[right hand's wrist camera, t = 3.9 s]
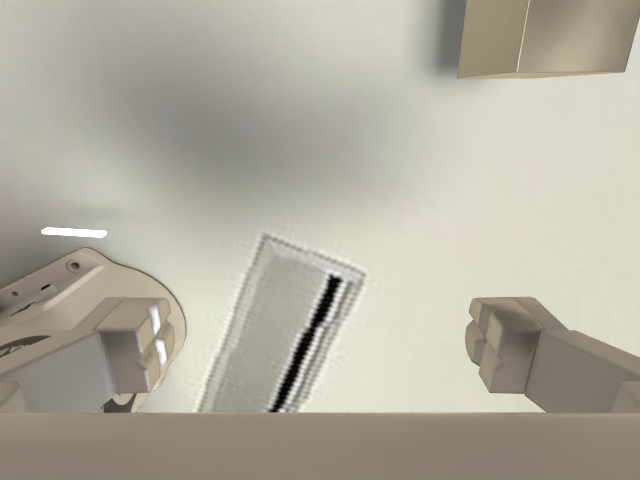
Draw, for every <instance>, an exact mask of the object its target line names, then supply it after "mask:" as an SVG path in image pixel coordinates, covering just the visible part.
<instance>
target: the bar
mask: <svg viewBox="0 0 640 480" xmlns="http://www.w3.org/2000/svg"><path fill="white" fill-rule="evenodd" d="M639 17H640V0H467V1H466V10H465V18H464V26H463V34H462V42H461V51H460V59H459V67H458V75H457V78H545V77H561V76H576V75H591V74H607V73H622V72H625V69H626V65H627V62H628V58H629V54H630V50H631V47H632V43H633V39H634V36H635V32H636V28H637V25H638V21H639Z"/></svg>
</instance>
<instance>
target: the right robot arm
mask: <svg viewBox="0 0 640 480" xmlns="http://www.w3.org/2000/svg"><path fill="white" fill-rule="evenodd" d="M42 234H56V235H73V236H90V237H103V236H105V235H106V231H95V230H78V229H61V228H46V229H44V230H42ZM75 262H76V263H78V265H79V266H77V265H76V264H75ZM469 313H470V315H471V316H472V318H473V320H472V321H471V322H470V323H469V325H468V326H467V327H466V334H465V342H466V349H467V352H468V355H469V357H470V359H471V361H472V362H473V363H475V364H476V365H478V366H479V367H480V369H479V375H480V377H481V379H482V380H483V382H484V384H485V386H486V387H487V389H488V391H489V393H513V394H525V396H526V397H527V398H529V399H530V400H531V401H533V402H534V403H535V404H537V405H538V406H539V407H540V408H542V409H543V410H544V411H546V412H547V413H135V412H136V410H137V409H138V408H139V406H140V405H141V404H142V402H143V401H144V399H145V398H146V397H147V395H148V394H149V393H151V391H155V390H157V389H158V388H159V386H160V385H161V384H162V382H163V380H164V377H165V374H166V369H167V367H168V365H169V364H170V363H171V362H172V361H173V360H174V358H175V357H176V356H177V355H178V354H179V352H180V350H181V348H182V346H183V344H184V340H185V334H186V326H185V320H184V316H183V313H182V311H181V309H180V307H179V305H178V303H177V302H176V300H175V299H174V297H173V296H172V295H171V294H170V293H169V291H168V290H167V289H166V288H165V287H163V286H162V285H161V284H160V283H158V282H157V281H156V280H154V279H153V278H151V277H149V276H148V275H146V274H144V273H141V272H139V271H137V270H134V269H131V268H127V267H124V266H120V265H117V264H115V263H113V262H111V261H110V260H108V259H107V258H105V257H104V256H102V255H101V254H99V253H98V252H96V251H94V250H92V249H89V248H81V249H79V250H77V251H75V252H73V253H71V254H69V255H67V256H65V257H63V258H61V259H59V260H57V261H55V262H53V263H51V264H49V265H47V266H45V267H43V268H41V269H39V270H37V271H35V272H33V273H31V274H29V275H28V276H26V277H24V278H22V279H20V280H18V281H16V282H14V283H12V284H10V285H8V286H6V287H4V288H2V289H0V480H640V358H639V357H637V356H634V355H632V354H630V353H627V352H625V351H623V350H620V349H618V348H615V347H613V346H611V345H608V344H606V343H604V342H601V341H599V340H596V339H594V338H592V337H589V336H587V335H585V334H582V333H580V332H577V331H569V330H568V329H567V328H566V327H565V326H564V325H563V324H562V323H561V322H559V321H558V320H557V319H556V318H555V317H554V316H553V315H552V314H551V313H550V312H549V311H548V310H547V309H546V308H545V307H544V306H543V305H542V304H540V303H539V302H538V301H537V300H536V299H535V298H533V297H494V298H473V300H472V302H471V304H470V309H469Z"/></svg>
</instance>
